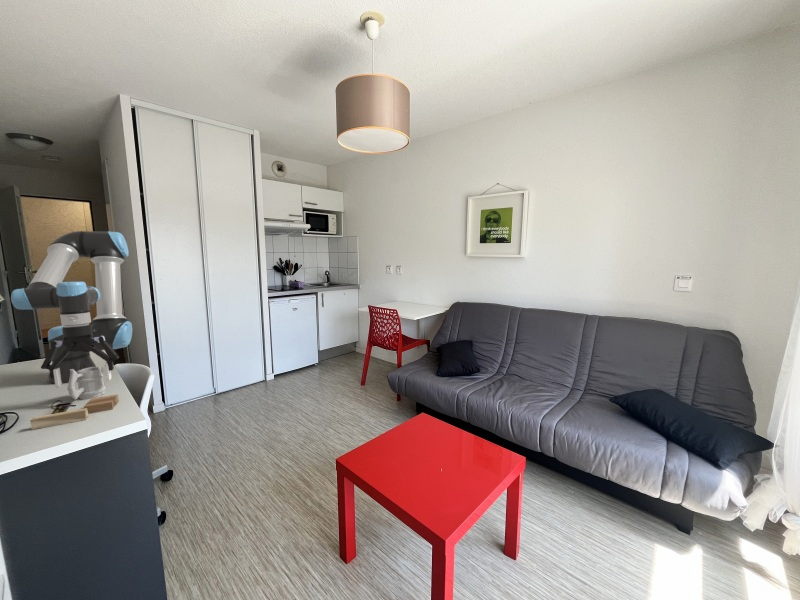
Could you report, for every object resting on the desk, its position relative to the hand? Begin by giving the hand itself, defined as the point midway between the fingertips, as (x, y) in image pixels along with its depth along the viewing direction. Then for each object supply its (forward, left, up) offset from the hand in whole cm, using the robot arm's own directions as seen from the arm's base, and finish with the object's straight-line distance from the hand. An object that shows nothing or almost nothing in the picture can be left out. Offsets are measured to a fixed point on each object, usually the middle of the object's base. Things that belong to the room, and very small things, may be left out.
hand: (84, 383), depth 118 cm
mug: (0, 0, -6) cm, 6 cm away
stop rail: (+22, 0, -6) cm, 22 cm away
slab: (+14, +8, -6) cm, 17 cm away
